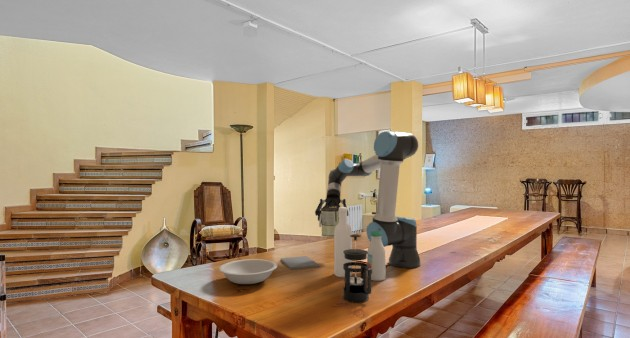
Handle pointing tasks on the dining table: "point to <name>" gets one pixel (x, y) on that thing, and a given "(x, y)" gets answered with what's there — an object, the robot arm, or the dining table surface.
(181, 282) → the dining table surface
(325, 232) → the coffee can
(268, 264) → the soup bowl
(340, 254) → the bottle
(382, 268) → the milk bottle
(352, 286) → the french press
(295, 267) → the grey mat
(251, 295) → the dining table surface
